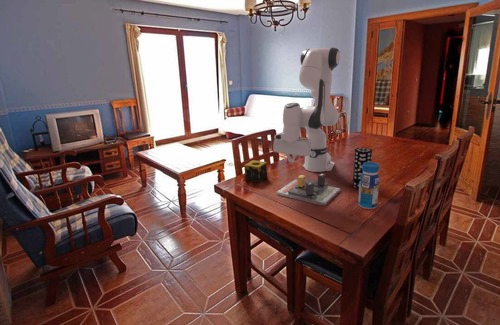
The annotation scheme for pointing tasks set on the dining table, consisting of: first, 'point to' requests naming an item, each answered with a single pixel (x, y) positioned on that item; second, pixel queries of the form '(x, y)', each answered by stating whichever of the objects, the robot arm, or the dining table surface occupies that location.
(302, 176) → the breaker
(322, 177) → the breaker
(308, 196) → the panel
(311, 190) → the breaker
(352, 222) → the dining table surface
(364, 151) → the white-spotted black cylinder
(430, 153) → the dining table surface
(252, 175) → the candle
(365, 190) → the blue lidded canister
